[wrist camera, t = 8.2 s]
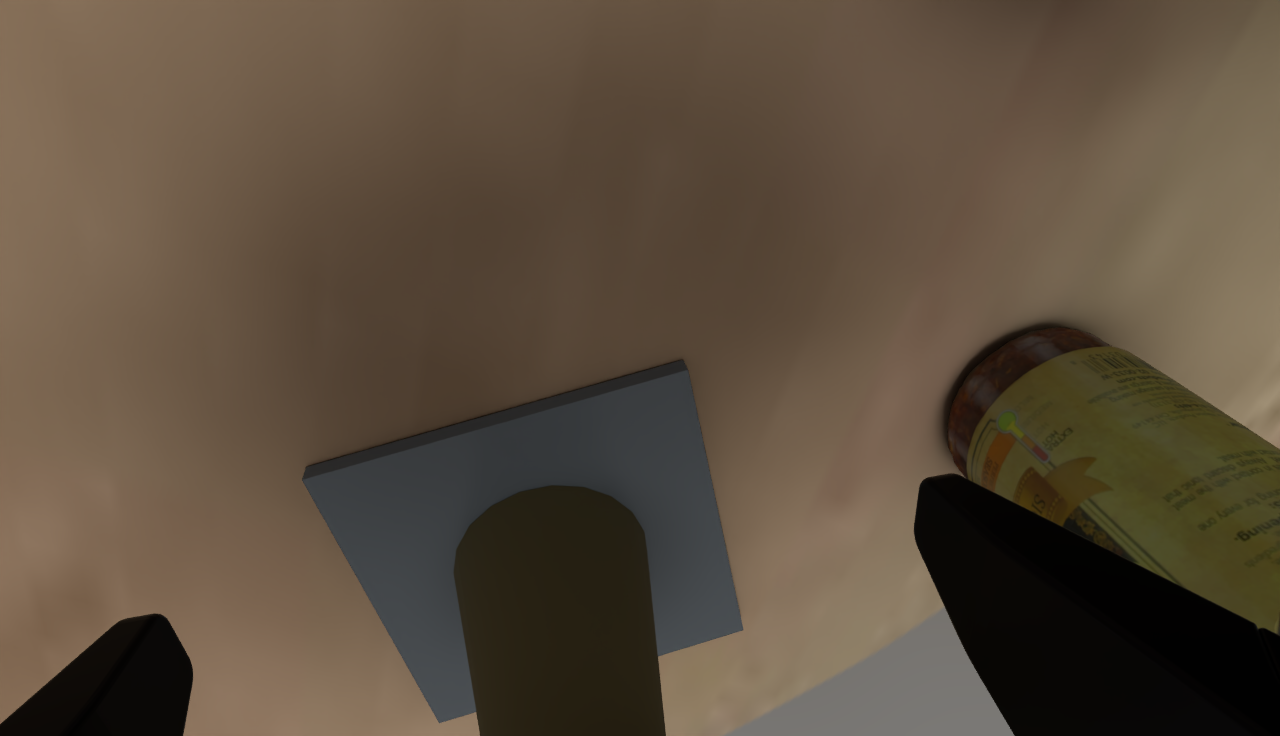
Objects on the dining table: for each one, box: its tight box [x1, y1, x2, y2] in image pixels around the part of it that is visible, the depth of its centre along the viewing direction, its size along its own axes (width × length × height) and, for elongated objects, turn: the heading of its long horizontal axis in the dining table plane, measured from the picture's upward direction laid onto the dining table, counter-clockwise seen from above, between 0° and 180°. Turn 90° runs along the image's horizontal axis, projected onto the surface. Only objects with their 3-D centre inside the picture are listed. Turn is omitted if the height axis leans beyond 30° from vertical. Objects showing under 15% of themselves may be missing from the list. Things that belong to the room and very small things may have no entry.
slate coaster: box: [302, 360, 743, 723], centre depth 25 cm, size 11×11×1 cm
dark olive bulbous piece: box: [453, 485, 666, 736], centre depth 20 cm, size 6×6×11 cm
